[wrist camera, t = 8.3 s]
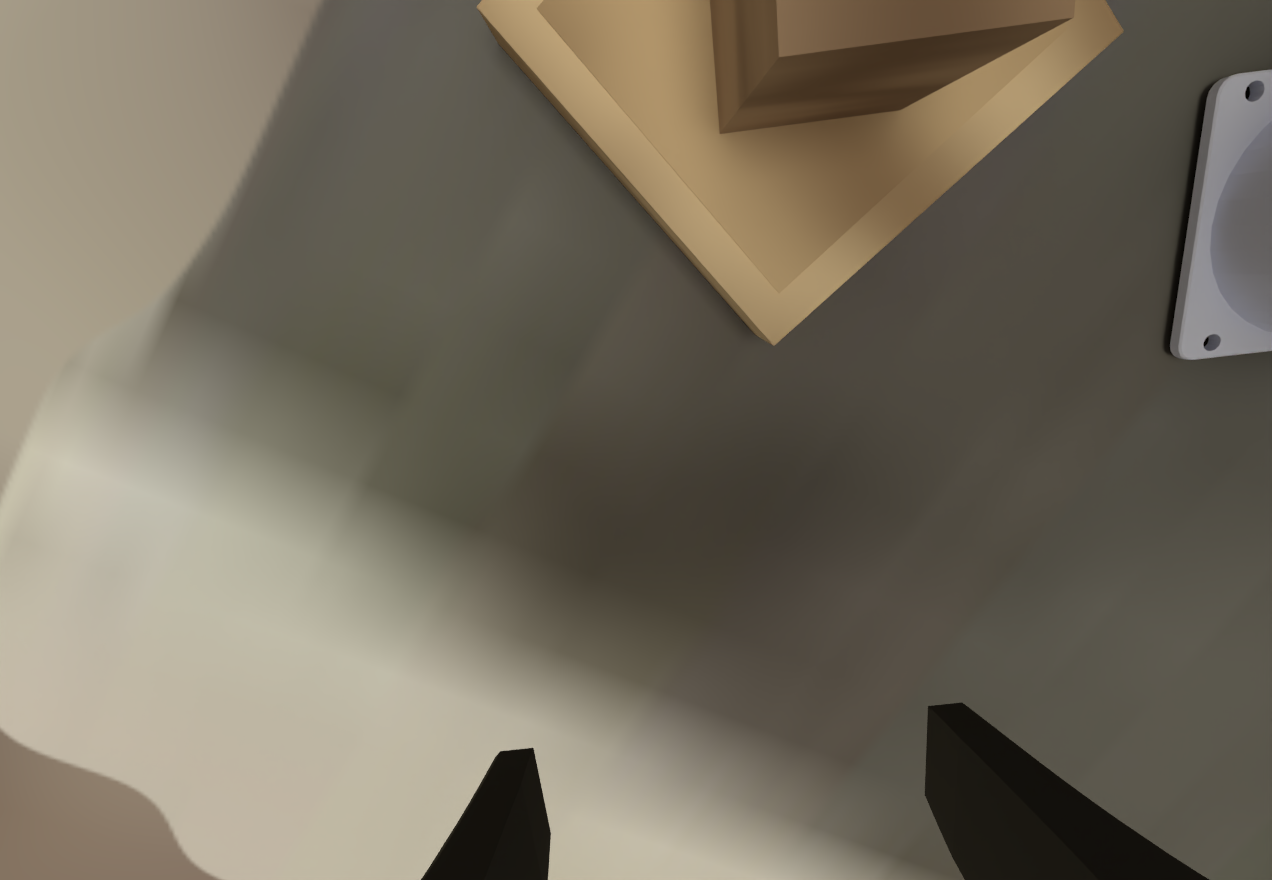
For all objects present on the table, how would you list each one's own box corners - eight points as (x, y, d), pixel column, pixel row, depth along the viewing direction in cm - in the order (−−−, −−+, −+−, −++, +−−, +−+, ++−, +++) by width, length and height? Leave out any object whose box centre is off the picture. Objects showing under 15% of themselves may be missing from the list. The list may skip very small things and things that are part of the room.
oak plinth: (810, -317, 14) (847, -435, 12) (1052, 63, 17) (1125, 30, 14) (497, 43, 16) (476, 5, 14) (755, 334, 19) (774, 346, 16)
